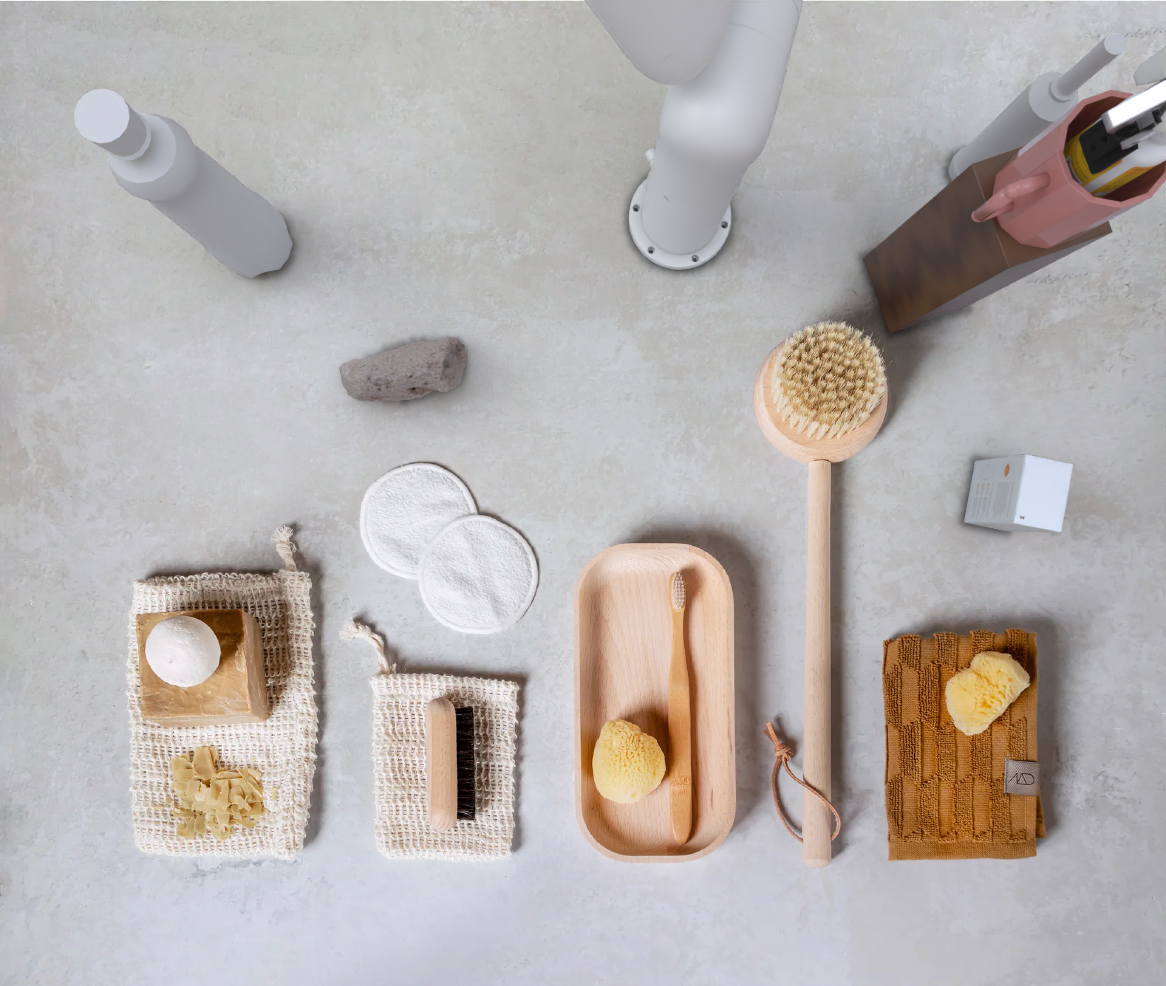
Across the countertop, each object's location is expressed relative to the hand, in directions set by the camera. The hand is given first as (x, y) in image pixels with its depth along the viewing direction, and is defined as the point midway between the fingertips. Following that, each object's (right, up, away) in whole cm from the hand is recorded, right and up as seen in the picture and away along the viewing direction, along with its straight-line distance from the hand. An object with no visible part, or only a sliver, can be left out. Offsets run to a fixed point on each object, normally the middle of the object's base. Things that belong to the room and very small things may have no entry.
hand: (1127, 140), depth 55 cm
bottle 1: (-81, +4, +35) cm, 89 cm away
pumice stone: (-63, -12, +35) cm, 73 cm away
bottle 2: (+7, +13, +36) cm, 39 cm away
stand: (0, -1, +35) cm, 35 cm away
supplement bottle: (0, 0, +5) cm, 5 cm away
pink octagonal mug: (-2, -1, +10) cm, 10 cm away
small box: (+9, -27, +35) cm, 45 cm away
